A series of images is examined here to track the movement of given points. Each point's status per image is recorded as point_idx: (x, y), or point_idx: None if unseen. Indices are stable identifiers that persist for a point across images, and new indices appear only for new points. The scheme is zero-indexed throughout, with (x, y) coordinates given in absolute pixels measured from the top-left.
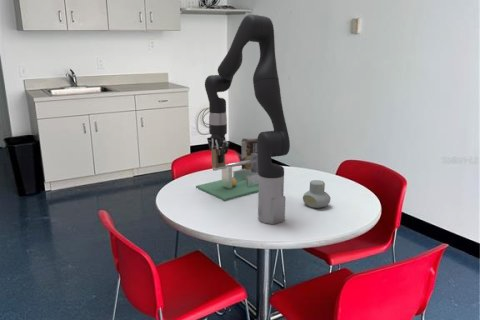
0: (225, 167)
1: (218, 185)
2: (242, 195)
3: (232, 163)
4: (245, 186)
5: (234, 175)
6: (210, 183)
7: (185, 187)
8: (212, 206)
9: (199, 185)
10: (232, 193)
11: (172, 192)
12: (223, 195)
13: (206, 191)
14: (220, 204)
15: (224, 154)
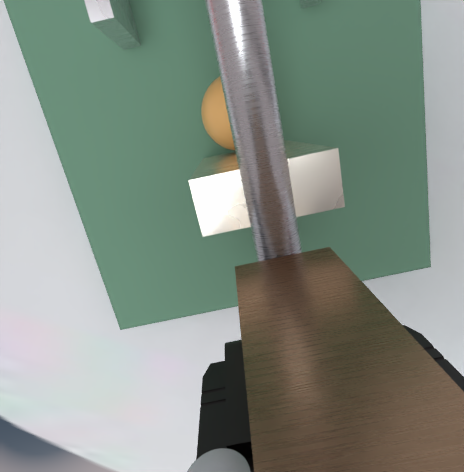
0: (297, 225)
1: (174, 200)
2: (419, 125)
3: (260, 97)
4: (288, 13)
5: (126, 28)
6: (107, 232)
7: (93, 369)
8: (449, 343)
9: (122, 309)
10: (374, 182)
11: (152, 442)
12: (375, 250)
13: (237, 302)
14: (450, 299)
15: (415, 357)
